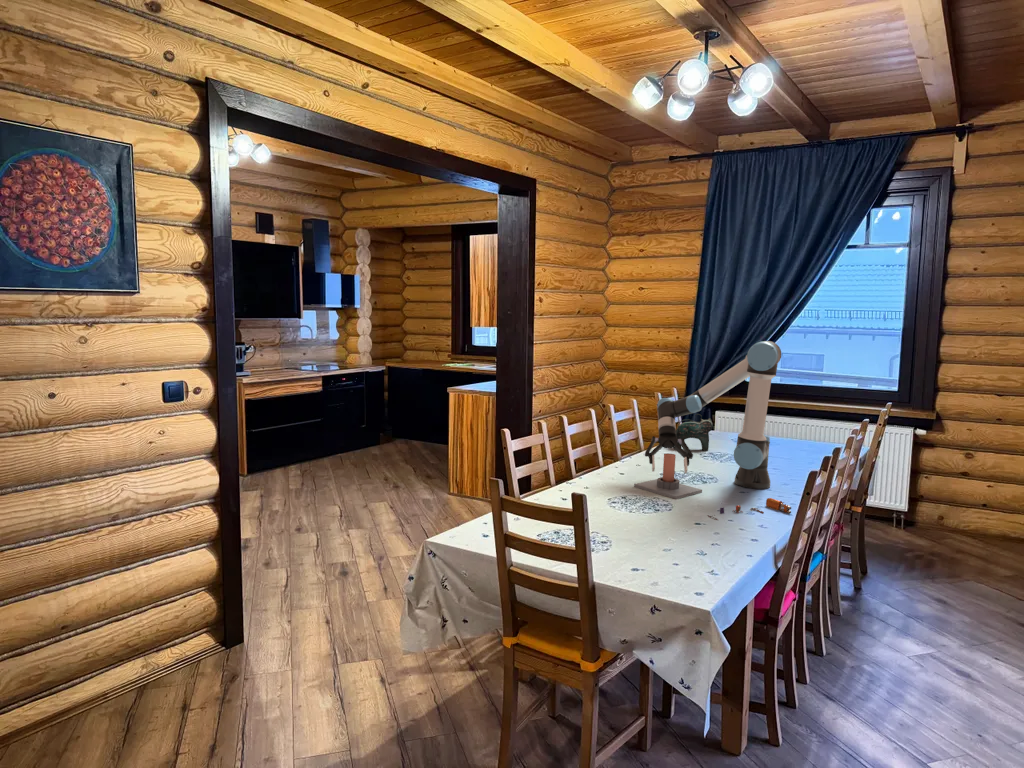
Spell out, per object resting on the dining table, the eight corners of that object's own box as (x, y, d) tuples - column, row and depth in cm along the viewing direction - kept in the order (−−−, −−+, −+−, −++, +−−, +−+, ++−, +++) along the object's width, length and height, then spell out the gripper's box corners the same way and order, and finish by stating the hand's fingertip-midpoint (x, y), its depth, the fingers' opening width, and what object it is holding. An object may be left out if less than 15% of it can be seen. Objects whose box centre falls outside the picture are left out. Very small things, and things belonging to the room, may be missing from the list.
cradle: (702, 492, 286) (702, 482, 286) (676, 499, 275) (676, 489, 274) (660, 480, 303) (660, 471, 302) (634, 486, 291) (634, 477, 291)
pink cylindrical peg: (675, 487, 288) (677, 455, 287) (669, 488, 285) (670, 456, 284) (666, 484, 292) (668, 452, 290) (659, 486, 289) (661, 454, 287)
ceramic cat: (710, 449, 375) (713, 414, 372) (711, 452, 368) (714, 416, 366) (673, 447, 378) (676, 411, 376) (674, 449, 372) (676, 413, 369)
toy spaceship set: (792, 514, 261) (793, 504, 261) (726, 526, 245) (727, 514, 244) (769, 506, 271) (770, 496, 270) (704, 517, 254) (705, 506, 254)
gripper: (694, 435, 300) (698, 477, 287) (637, 432, 302) (639, 473, 289) (697, 426, 294) (701, 467, 281) (639, 423, 297) (641, 464, 284)
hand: (669, 470), depth 285 cm, fingers open, 13 cm apart
